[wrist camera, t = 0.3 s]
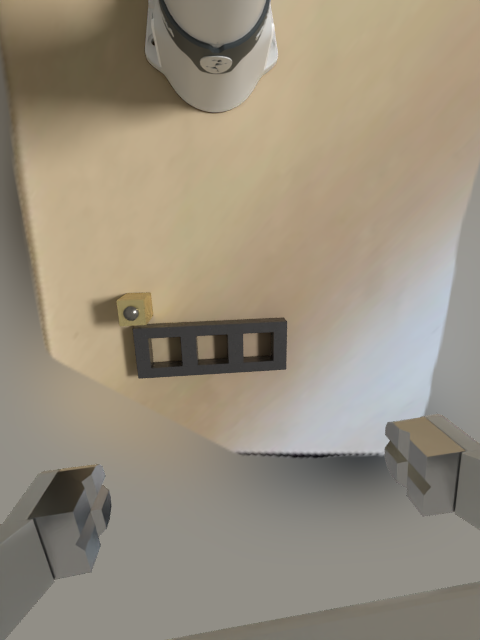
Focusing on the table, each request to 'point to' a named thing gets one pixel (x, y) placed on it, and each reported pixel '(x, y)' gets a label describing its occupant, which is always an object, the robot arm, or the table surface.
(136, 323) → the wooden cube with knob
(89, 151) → the table surface
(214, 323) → the grey flat slotted block
